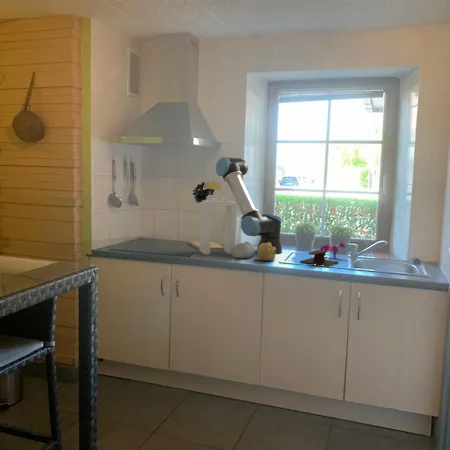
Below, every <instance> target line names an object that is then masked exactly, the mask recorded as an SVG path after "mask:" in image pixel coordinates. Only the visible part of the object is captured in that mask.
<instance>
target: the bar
mask: <svg viewBox="0 0 450 450" xmlns="http://www.w3.org/2000/svg"><path fill="white" fill-rule="evenodd" d="M204 188H207V189H213V190H218V191H221V189H222V188H221V183H217V182H212V181H207V184H206V186H205V187H204Z"/></svg>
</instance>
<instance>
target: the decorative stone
mask: <svg viewBox="0 0 450 450" xmlns="http://www.w3.org/2000/svg"><path fill="white" fill-rule="evenodd" d="M231 253H232V254H231V255H232V256H233V257H234V258H236V259H249V258H251V257H253V256H254V255H255V248H254V247H253V245H252V244H251V243H250V242H249V241H244V242H240V243H237V244H235V247H234V248H233V250H232V251H231Z"/></svg>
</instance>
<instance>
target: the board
mask: <svg viewBox="0 0 450 450" xmlns="http://www.w3.org/2000/svg"><path fill="white" fill-rule="evenodd" d="M214 242H215V241H213V242H210V251H224V245H221V244H219V243H217V242H215V243H214ZM188 243H189V245H191V246H192V247H194V248H195V249H197V250H199V251H200V240H196V241H188Z"/></svg>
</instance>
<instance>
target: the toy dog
mask: <svg viewBox="0 0 450 450" xmlns="http://www.w3.org/2000/svg"><path fill="white" fill-rule="evenodd" d="M342 248H343V249H345V248H346V246H345V244H344V242H343V241H340V242H339V243H338V244H323V245H322V246H321V248H320V249H319V250H321V251H325V254H326V253H327V252H333V254H332V255H333V258H334V257H335V258H337V257H336V255H337V253H338V252H339V251H340V250H341V249H342ZM335 258H334V259H335Z"/></svg>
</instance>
